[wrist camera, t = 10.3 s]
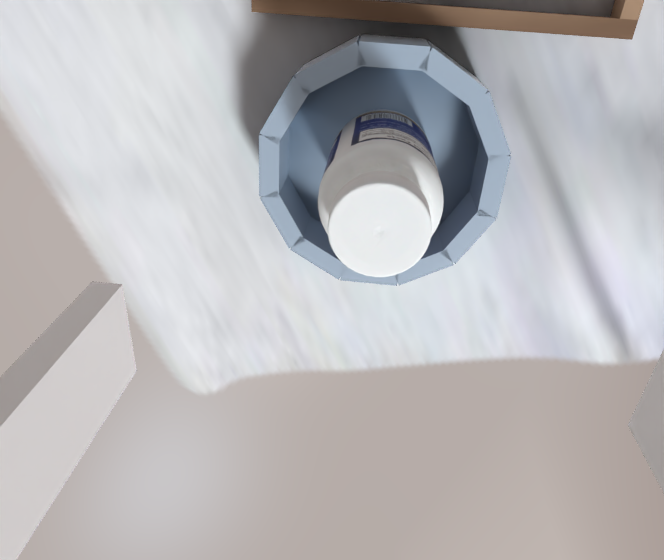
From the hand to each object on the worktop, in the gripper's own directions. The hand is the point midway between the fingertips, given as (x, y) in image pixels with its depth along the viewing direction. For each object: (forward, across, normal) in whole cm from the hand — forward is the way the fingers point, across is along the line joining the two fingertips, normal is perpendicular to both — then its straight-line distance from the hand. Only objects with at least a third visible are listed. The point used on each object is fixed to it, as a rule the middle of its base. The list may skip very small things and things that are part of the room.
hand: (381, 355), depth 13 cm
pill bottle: (+18, 0, 0) cm, 18 cm away
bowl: (+18, 0, 0) cm, 18 cm away
